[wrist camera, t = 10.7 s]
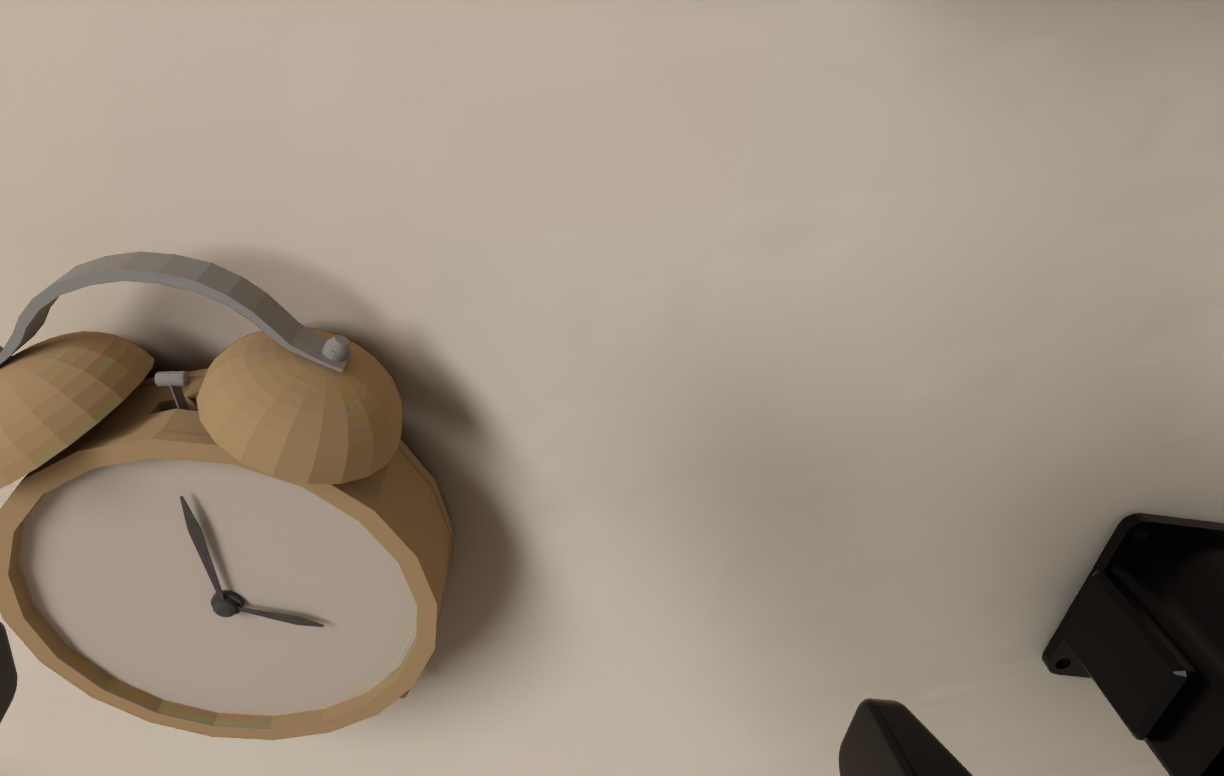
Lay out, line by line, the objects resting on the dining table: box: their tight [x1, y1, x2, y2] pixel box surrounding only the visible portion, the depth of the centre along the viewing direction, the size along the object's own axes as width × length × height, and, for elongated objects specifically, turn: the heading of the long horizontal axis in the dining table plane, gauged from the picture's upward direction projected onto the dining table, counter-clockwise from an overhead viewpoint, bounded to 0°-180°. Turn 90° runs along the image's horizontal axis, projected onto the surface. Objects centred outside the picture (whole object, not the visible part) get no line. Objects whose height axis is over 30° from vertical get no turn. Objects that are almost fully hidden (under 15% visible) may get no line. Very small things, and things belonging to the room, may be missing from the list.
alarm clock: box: [0, 252, 452, 740], centre depth 21 cm, size 11×5×15 cm
